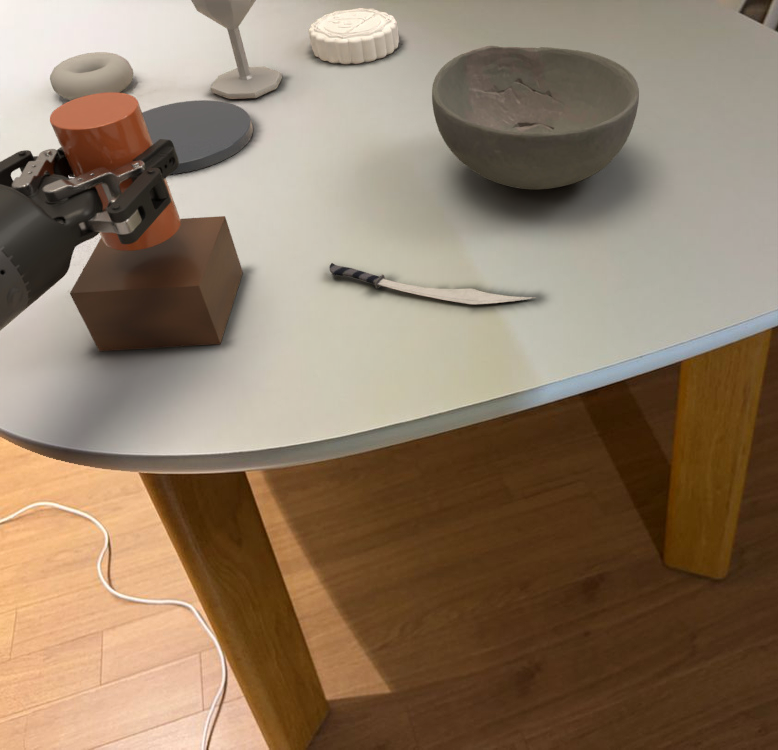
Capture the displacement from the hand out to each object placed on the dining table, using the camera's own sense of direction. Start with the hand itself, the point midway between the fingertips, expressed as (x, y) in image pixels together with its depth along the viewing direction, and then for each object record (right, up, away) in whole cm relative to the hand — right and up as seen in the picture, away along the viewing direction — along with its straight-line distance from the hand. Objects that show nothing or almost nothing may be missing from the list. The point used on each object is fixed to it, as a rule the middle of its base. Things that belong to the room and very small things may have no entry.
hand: (134, 146), depth 61 cm
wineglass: (-4, +19, +42) cm, 46 cm away
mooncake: (+8, +28, +50) cm, 58 cm away
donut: (-24, +20, +43) cm, 53 cm away
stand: (0, -12, +8) cm, 14 cm away
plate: (-9, +10, +31) cm, 34 cm away
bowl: (+32, +4, +23) cm, 40 cm away
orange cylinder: (0, -6, +2) cm, 6 cm away
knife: (+22, -10, +9) cm, 26 cm away
